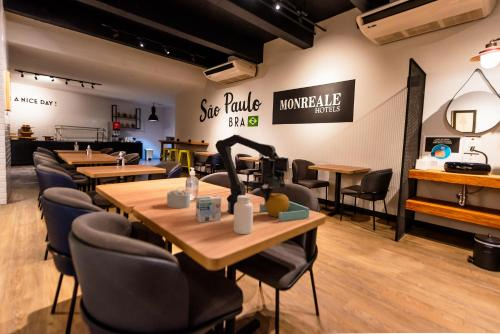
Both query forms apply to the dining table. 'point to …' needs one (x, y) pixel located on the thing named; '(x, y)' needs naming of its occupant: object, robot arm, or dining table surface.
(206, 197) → the light bulb box
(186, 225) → the dining table surface
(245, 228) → the pill bottle
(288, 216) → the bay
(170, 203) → the lumpy-topped squat cylinder
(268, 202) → the apple
